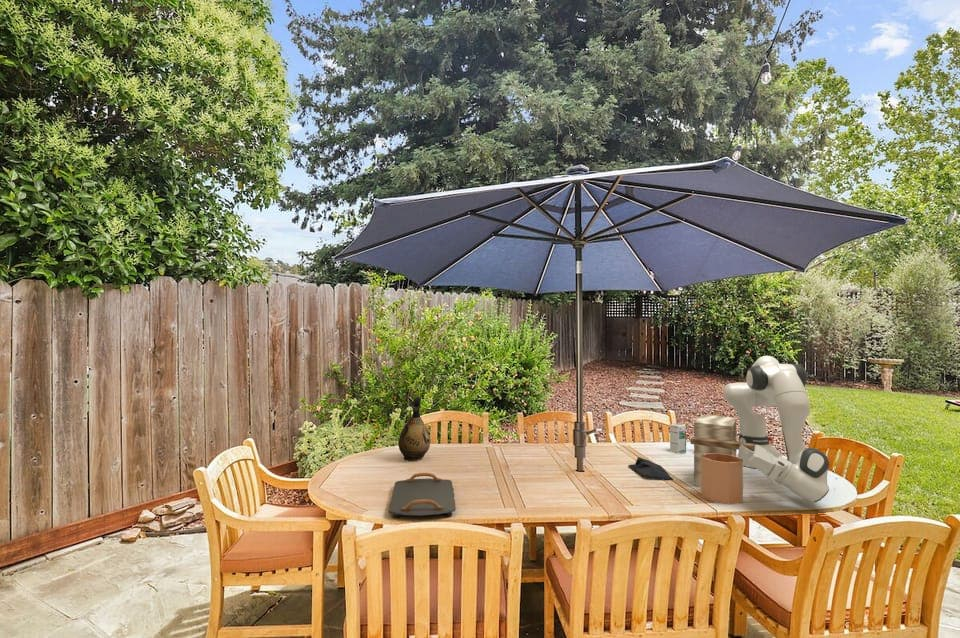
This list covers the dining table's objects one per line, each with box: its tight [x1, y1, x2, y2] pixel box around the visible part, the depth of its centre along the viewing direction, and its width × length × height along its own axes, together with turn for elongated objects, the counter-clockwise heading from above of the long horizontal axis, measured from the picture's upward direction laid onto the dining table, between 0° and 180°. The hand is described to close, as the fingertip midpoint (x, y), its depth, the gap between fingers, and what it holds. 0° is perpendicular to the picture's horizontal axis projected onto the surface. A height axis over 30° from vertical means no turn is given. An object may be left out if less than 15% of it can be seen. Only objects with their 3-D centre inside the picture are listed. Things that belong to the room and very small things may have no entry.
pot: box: [700, 453, 744, 505], centre depth 190 cm, size 14×14×15 cm
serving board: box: [388, 472, 457, 520], centre depth 183 cm, size 39×23×6 cm, turn 6°
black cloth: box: [627, 456, 674, 481], centre depth 221 cm, size 15×22×5 cm
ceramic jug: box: [398, 395, 431, 462], centre depth 242 cm, size 17×15×30 cm
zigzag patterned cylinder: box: [693, 414, 738, 487], centre depth 209 cm, size 14×22×26 cm, turn 148°
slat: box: [690, 436, 755, 451], centre depth 190 cm, size 22×4×2 cm, turn 59°
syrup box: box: [669, 423, 687, 455], centre depth 258 cm, size 6×6×14 cm
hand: (740, 444), depth 187 cm, fingers closed on slat, 4 cm apart
